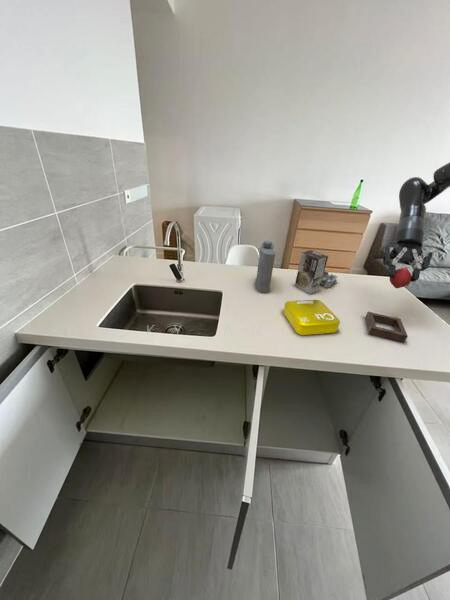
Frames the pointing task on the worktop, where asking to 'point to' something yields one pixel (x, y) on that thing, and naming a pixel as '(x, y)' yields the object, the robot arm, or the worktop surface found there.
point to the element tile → (310, 317)
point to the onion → (401, 278)
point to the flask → (265, 266)
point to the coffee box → (311, 271)
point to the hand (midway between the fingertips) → (402, 278)
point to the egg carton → (328, 279)
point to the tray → (376, 331)
